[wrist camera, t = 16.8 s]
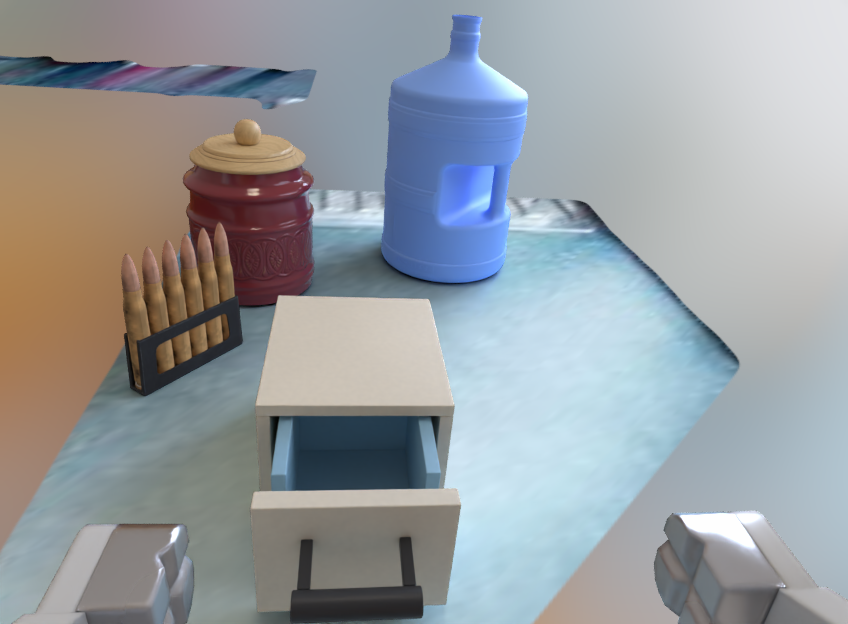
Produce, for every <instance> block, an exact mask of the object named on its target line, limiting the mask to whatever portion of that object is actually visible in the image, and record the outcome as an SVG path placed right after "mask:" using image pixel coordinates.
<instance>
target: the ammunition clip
mask: <svg viewBox="0 0 848 624" xmlns="http://www.w3.org/2000/svg"><path fill="white" fill-rule="evenodd" d="M180 261H181V279H180V273H179V268H178V262H177V258H176V255H175V252H174V249H173V247H172V245H171V243H170V242H169V241H168V240H166V241H165V243H164V247H163V253H162V268H163V290H162V285H161V280H160V276H159V270H158V266H157V262H156V260H155V257H154V255H153V253H152V251H151V249H150V248H149V247H146V248H145V251H144V255H143V262H142V270H143V271H142V272H143V280H144V281H143V284H144V296H142V292H141V287H140V283H139V278H138V274H137V271H136V268H135V265H134V263H133V261H132V259H131V258H130V256H129V255H128V254H125V255H124V258H123V261H122V271H121V272H122V273H121V274H122V285H123V297H124V300H123V311H124V317H125V323H126V329H127V333H125V334H124V339H125V347H126V355H127V364H128V372H129V380H130V388H132V389H134V390H135V391H137V392H139V393H141V394H142V395H145V396H147V395H148V394H150V393H152V392H154V391H156V390H158V389H160V388H161V387H163V386H165V385H167V384H169V383H171V382H172V381H174V380H176V379H178V378H180V377H182V376H183V375H185V374H187V373H189V372H191V371H193V370H194V369H196V368H198V367H200V366H202V365H204V364H205V363H207V362H209V361H211V360H213V359H215V358H216V357H218V356H220V355H222V354H224V353H226V352H227V351H229V350H231V349H233V348H235V347H237V346H239V345H240V344H242V342H243V339H242V330H241V320H240V311H239V301H238V296H237V295H235V294H234V281H233V269H232V266H231V262H230V255H229V249H228V242H227V237H226V233H225V231H224V228H223V226H222V224H221V223H218V224H217V226H216V230H215V236H214V260H213V253H212V247H211V243H210V240H209V237H208V234H207V232H206V231H205V229H204V228H202V229H201V231H200V234H199V238H198V270H197V265H196V257H195V253H194V249H193V246H192V243H191V240H190V239H189V237H188V235H187V234H184V236H183V238H182V242H181V249H180Z"/></svg>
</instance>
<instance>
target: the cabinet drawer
mask: <svg viewBox="0 0 848 624" xmlns="http://www.w3.org/2000/svg"><path fill="white" fill-rule="evenodd" d="M440 476H441V471H440V466H439V460H438V454H437V449H436V443H435V438H434V432H433V426H432V421H431V416H280V417H279V423H278V430H277V436H276V443H275V450H274V456H273V463H272V470H271V491H260V492H253V496H252V502H251V507H250V514H251V528H252V542H253V557H254V571H255V585H256V599H257V611H258V612H276V611H290V622H291V624H300V623H323V622H347V621H370V620H393V619H417V618H422V616H423V606H426V605H445V604H446V601H447V594H448V588H449V581H450V575H451V568H452V562H453V555H454V548H455V542H456V535H457V529H458V522H459V515H460V509H461V502H460V497H459V492H458V489H457V488H451V489H439V484H440Z"/></svg>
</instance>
